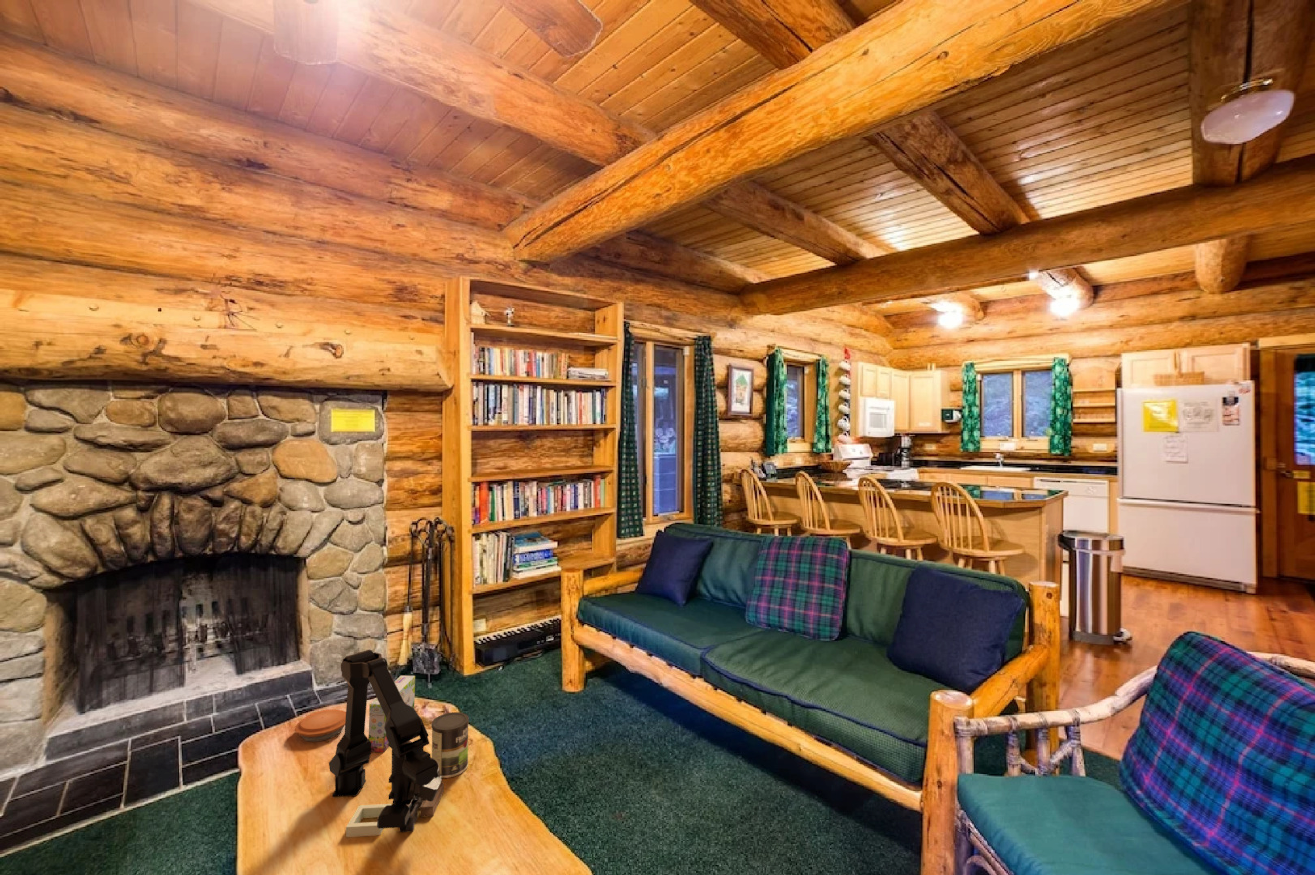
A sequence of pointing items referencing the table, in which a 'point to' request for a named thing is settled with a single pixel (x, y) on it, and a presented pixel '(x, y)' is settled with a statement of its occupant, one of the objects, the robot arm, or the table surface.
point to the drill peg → (420, 802)
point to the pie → (321, 725)
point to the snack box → (378, 717)
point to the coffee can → (450, 743)
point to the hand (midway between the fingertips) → (403, 830)
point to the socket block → (431, 803)
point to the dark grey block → (412, 819)
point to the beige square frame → (368, 828)
